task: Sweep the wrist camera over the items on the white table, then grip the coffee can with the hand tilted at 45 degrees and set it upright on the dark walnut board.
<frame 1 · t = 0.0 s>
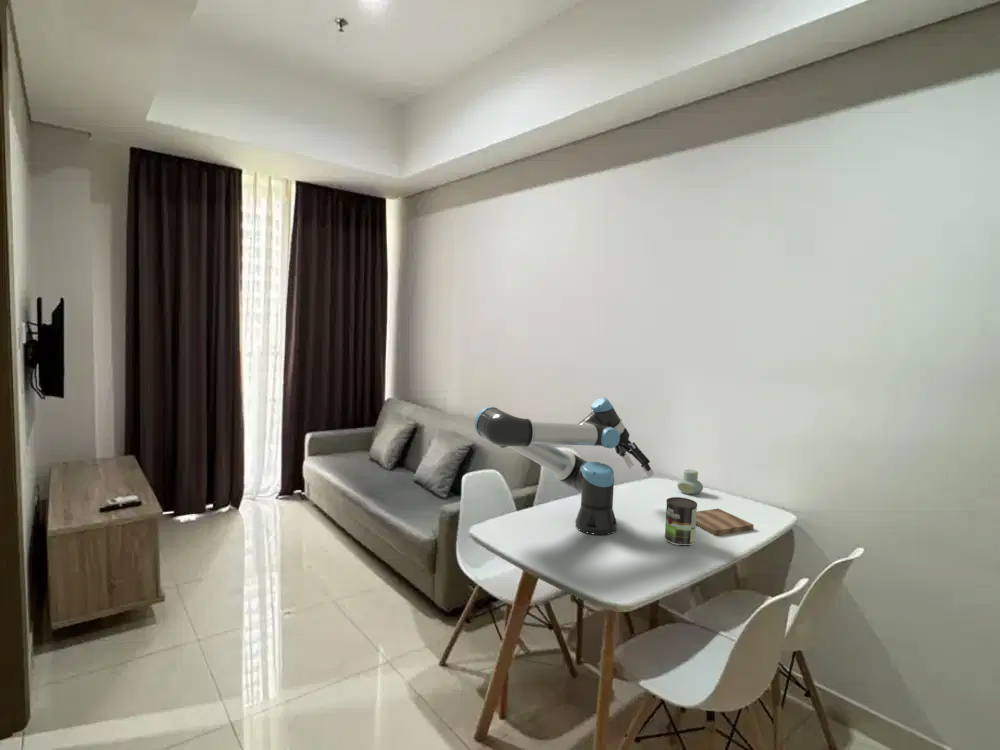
hand: (641, 471, 224), 15 cm above the table, tool tilted 35°, fingers open, 13 cm apart
air freshener: (689, 493, 246), on the table
coffee can: (679, 541, 193), on the table
walnut board: (716, 523, 209), on the table
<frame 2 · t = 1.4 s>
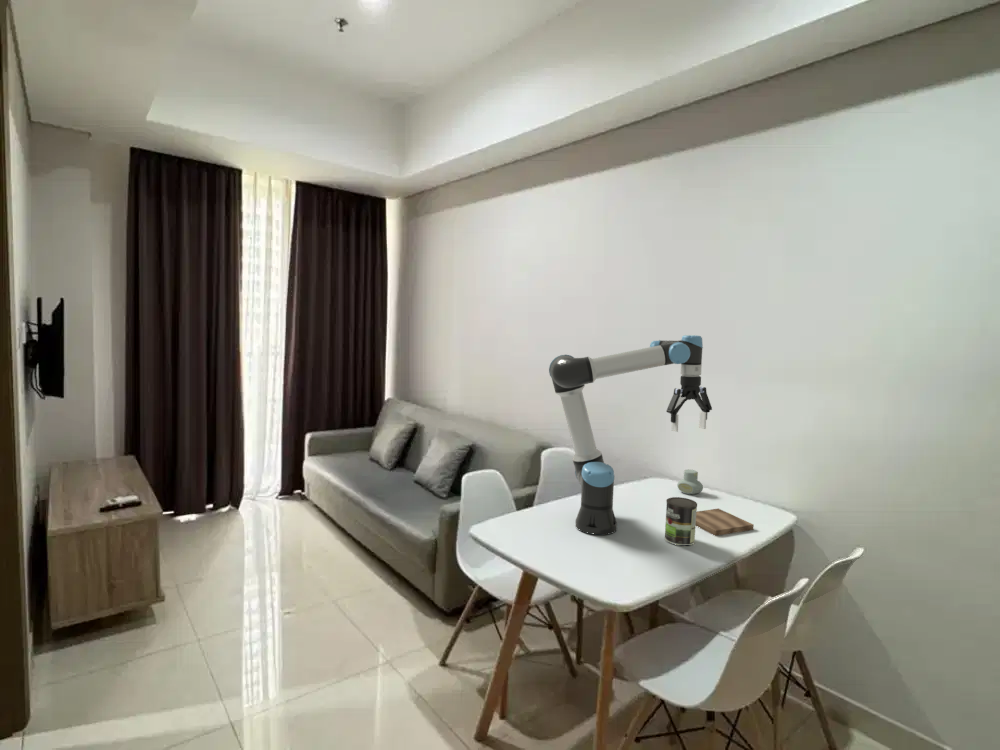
hand: (688, 429, 213), 35 cm above the table, tool pointing down, fingers open, 13 cm apart
nothing on the table moved.
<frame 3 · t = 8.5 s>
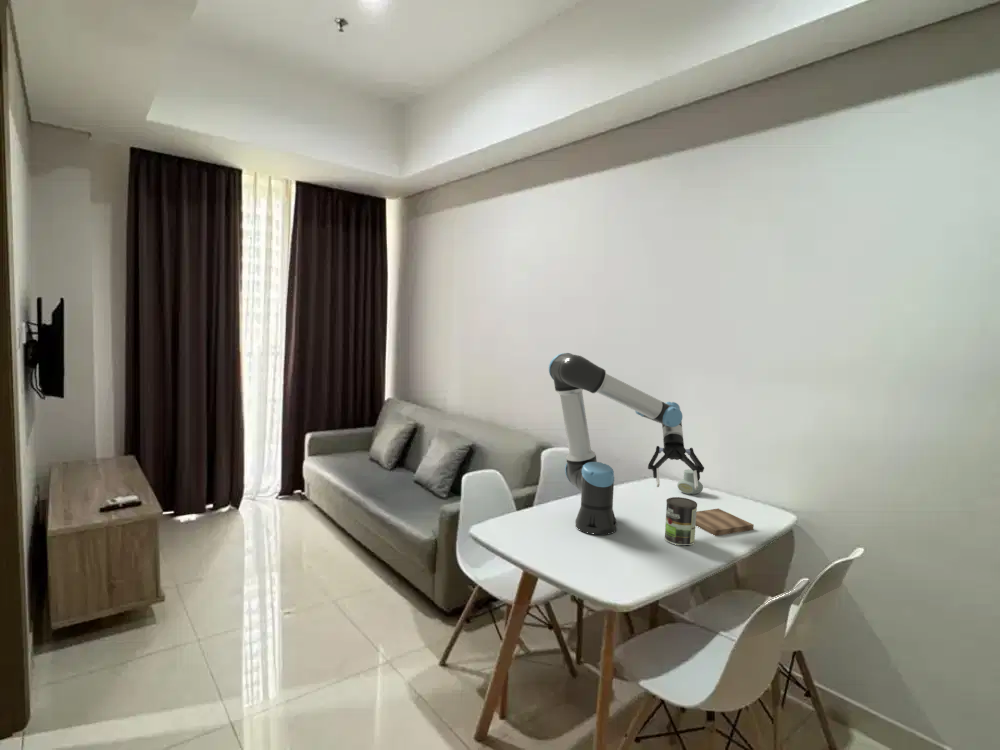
hand: (677, 486, 201), 16 cm above the table, tool tilted 45°, fingers open, 13 cm apart
nothing on the table moved.
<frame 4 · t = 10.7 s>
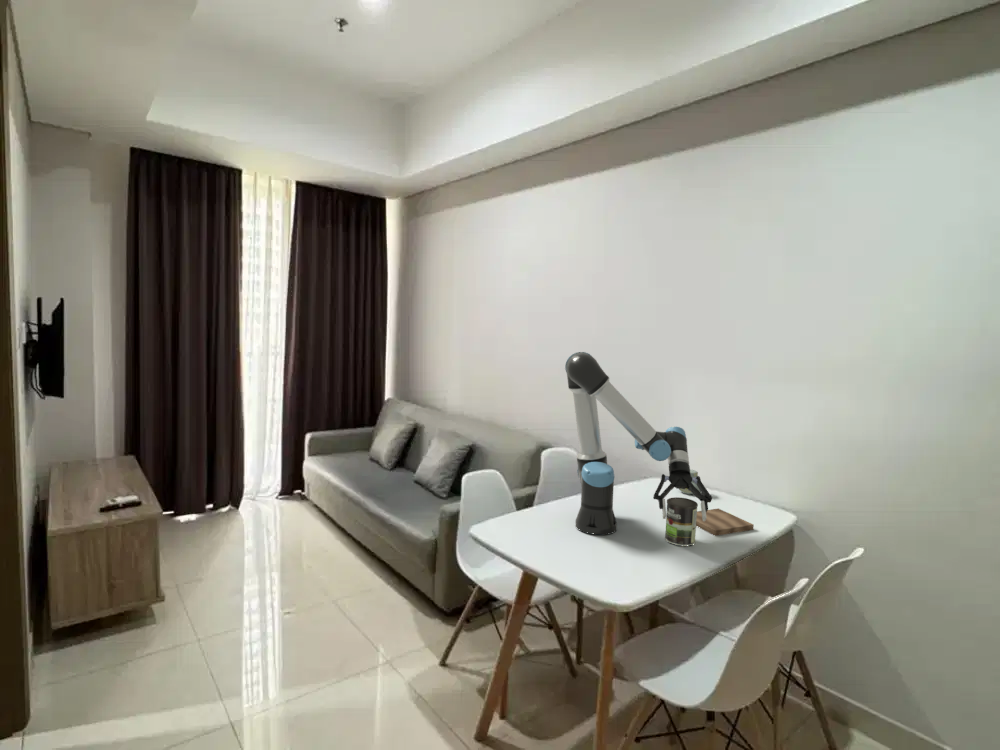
hand: (684, 518, 192), 8 cm above the table, tool tilted 45°, fingers open, 13 cm apart
nothing on the table moved.
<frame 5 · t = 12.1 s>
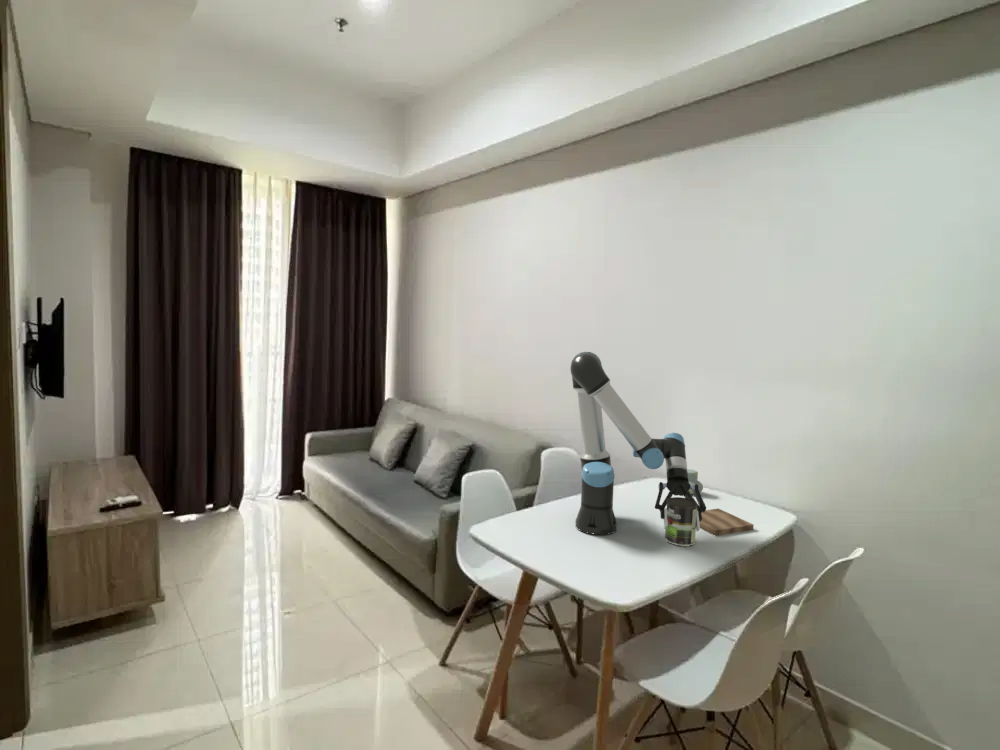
hand: (682, 528, 189), 6 cm above the table, tool tilted 45°, fingers closed on coffee can, 10 cm apart
coffee can: (680, 541, 192), on the table, touching gripper
everything else where it was.
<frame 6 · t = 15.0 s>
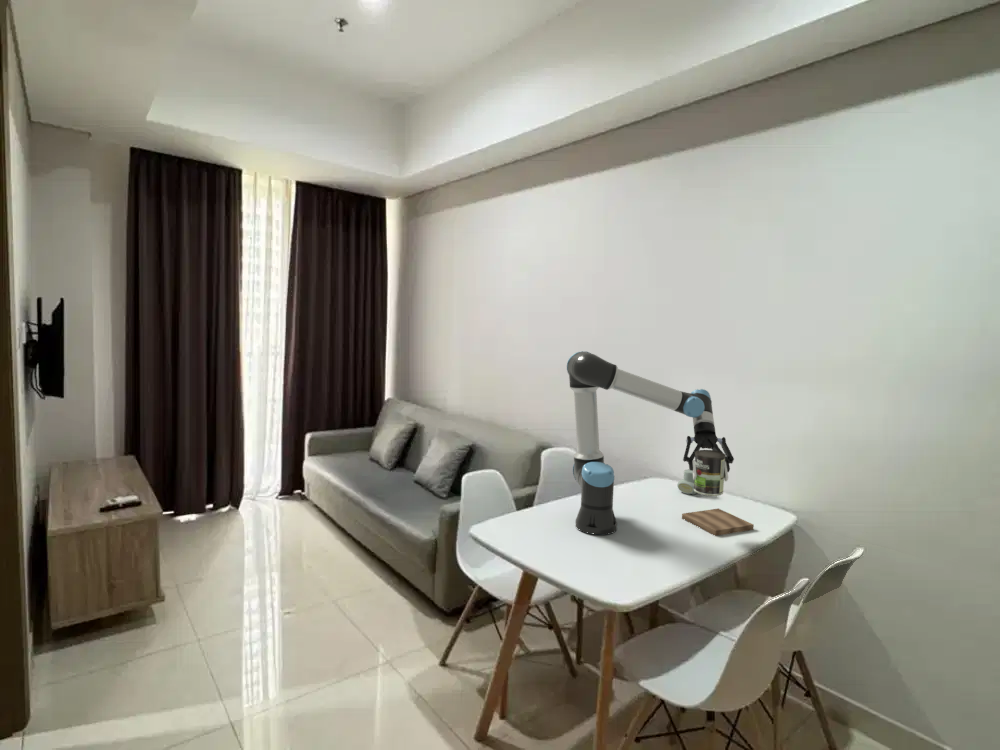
hand: (710, 478, 195), 21 cm above the table, tool tilted 45°, fingers closed on coffee can, 10 cm apart
coffee can: (708, 491, 198), point 16 cm above the table, touching gripper
everything else where it was.
when the fingers open (9 cm above the table, at t = 18.2 s): coffee can drops 1 cm, resting on walnut board.
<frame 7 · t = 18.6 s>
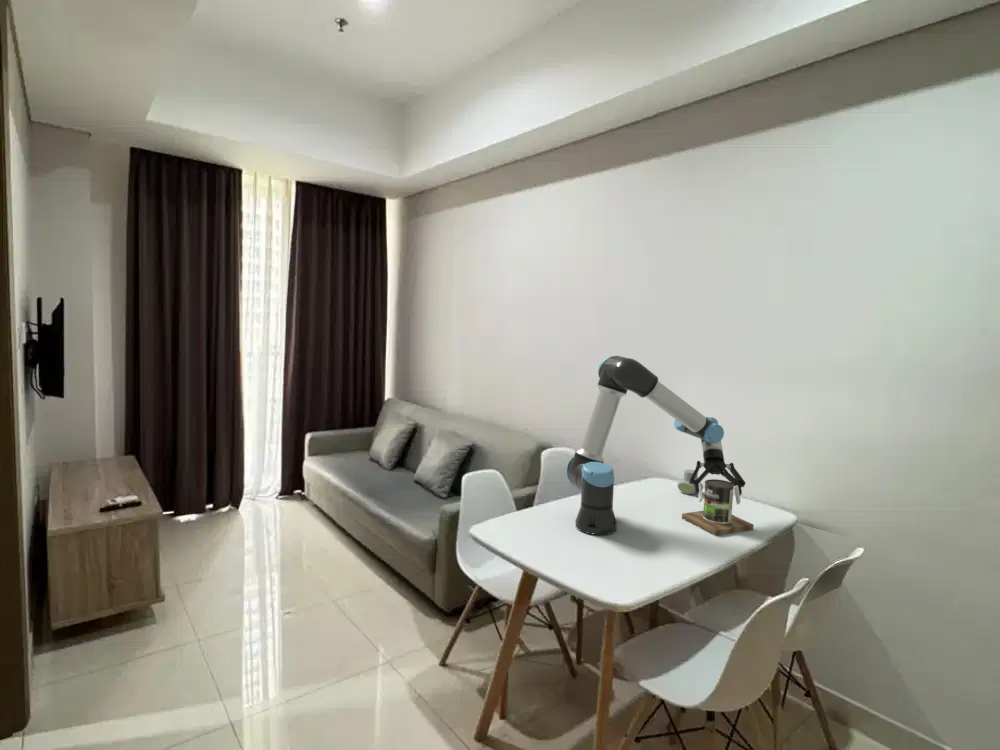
hand: (719, 501, 205), 10 cm above the table, tool tilted 45°, fingers open, 13 cm apart
coffee can: (717, 519, 208), point 2 cm above the table, touching walnut board
everything else where it was.
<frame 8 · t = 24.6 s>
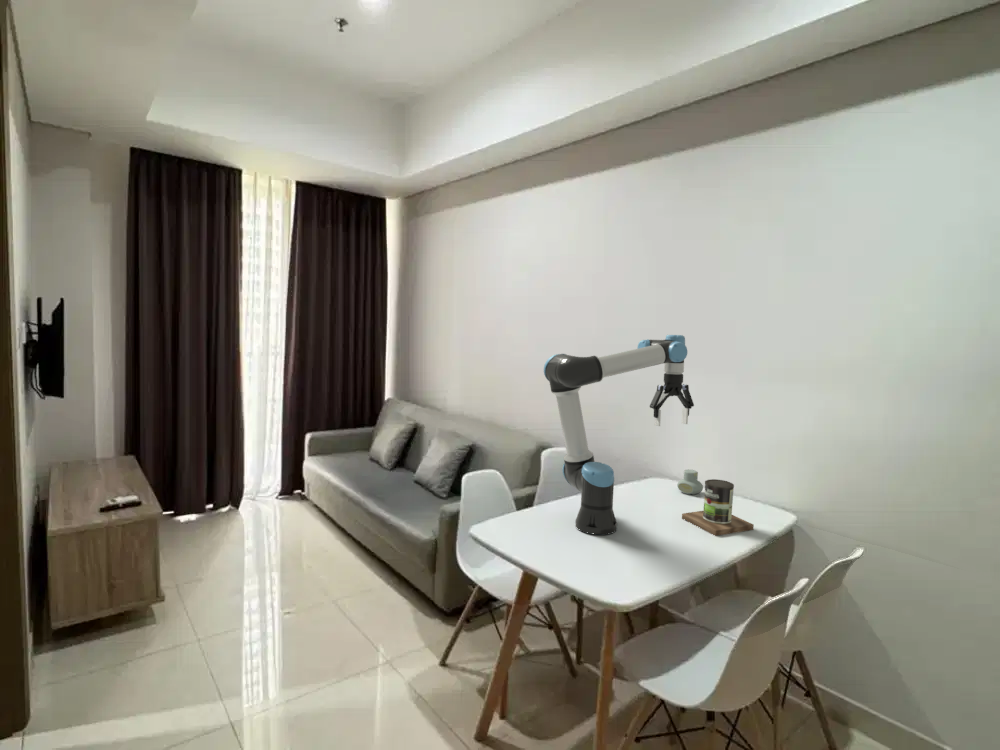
hand: (671, 424, 223), 35 cm above the table, tool pointing down, fingers open, 13 cm apart
nothing on the table moved.
at the end: coffee can inside the target area on the walnut board (0.2 cm from its centre), point 1.8 cm above the walnut board's base; coffee can tilted 0°; the gripper is holding nothing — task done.
